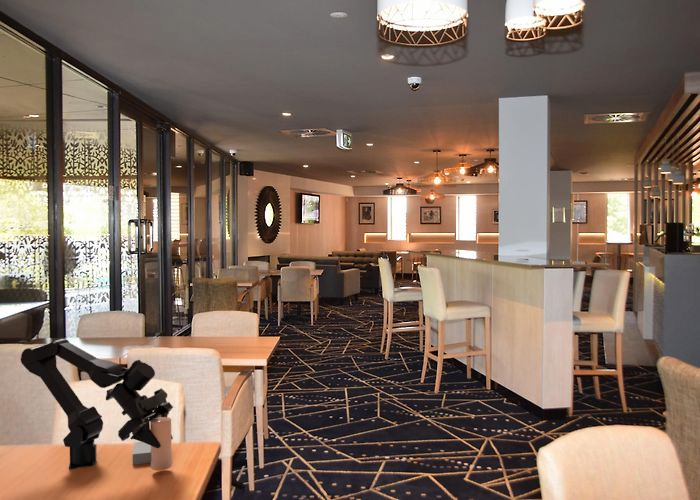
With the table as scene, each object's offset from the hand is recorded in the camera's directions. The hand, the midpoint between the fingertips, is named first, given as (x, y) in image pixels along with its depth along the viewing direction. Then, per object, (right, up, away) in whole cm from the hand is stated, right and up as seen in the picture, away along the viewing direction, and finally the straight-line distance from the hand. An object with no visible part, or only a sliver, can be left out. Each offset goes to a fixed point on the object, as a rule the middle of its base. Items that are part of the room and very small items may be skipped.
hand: (165, 443), depth 163 cm
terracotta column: (-1, -7, +1) cm, 7 cm away
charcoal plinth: (-8, -8, +12) cm, 17 cm away
